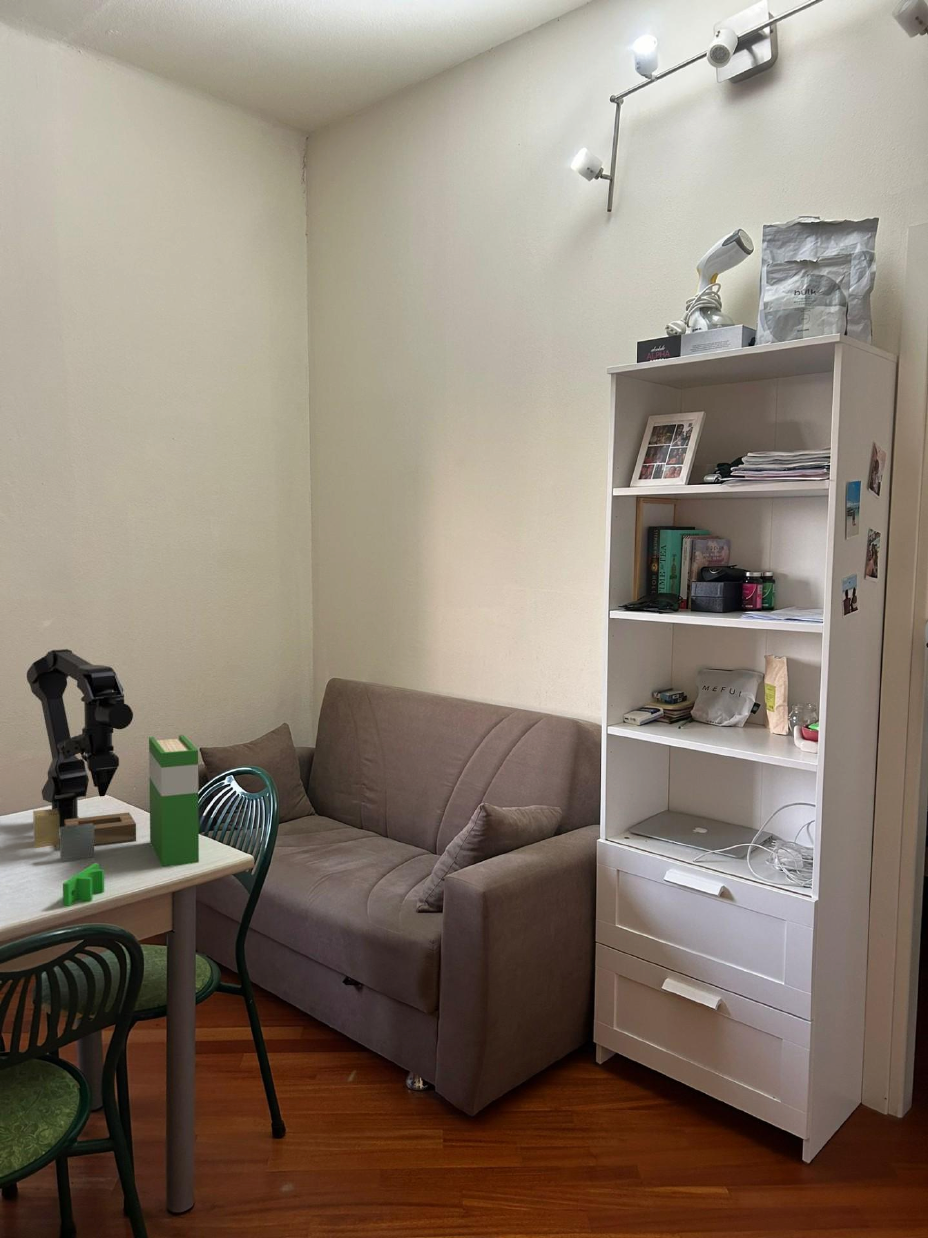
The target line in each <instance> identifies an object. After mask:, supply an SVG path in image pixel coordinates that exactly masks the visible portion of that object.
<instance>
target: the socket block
mask: <svg viewBox="0 0 928 1238" xmlns="http://www.w3.org/2000/svg"><path fill="white" fill-rule="evenodd" d="M89 823H93V825H94V847H100V846H107V845H115V844H117V845H118V844H123V843H132V842H137V822H136V821H135V820H134V818H133V816H132V815H131V813H130V812H129V811H128V812H120V813H119V812H118V813H113V814H103V815H94V816H87V817H86V816H84V817H79V818H75V819H66V820H65V826H72V825H81V824H89Z"/></svg>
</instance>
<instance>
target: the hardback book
mask: <svg viewBox="0 0 928 1238" xmlns="http://www.w3.org/2000/svg"><path fill="white" fill-rule="evenodd" d="M148 745H149V746H148V760H149V761H148V763H149V767H148V768H149V773H148V774H149V780H148V781H149V844H150V845H151V847H152V849H153V852H154V854H155V855H156V857H157V859H158V862H159V864H160V866H161V867H162V868H167V867H172V866H173V867H174V866H175V867H176V866H180V865H188V864H189V863H190V864H196V863H199V862H200V856H199V854H200V852H199V851H200V848H199V847H200V845H199V841H200V839H199V835H200V834H199V833H200V832H199V829H200V827H199V825H200V824H199V823H200V822H199V820H200V817H199V750H198V748H196V746H194V744H192V742H191V741H190V740H189V739H188V738H187V737H186V736H185V735H184V734H179V735H178V738H171V739H170V738H169V739H159V740H158V739H155V737H153V736H152V737H151V736H150V737H148ZM190 864H189V865H190Z"/></svg>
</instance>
